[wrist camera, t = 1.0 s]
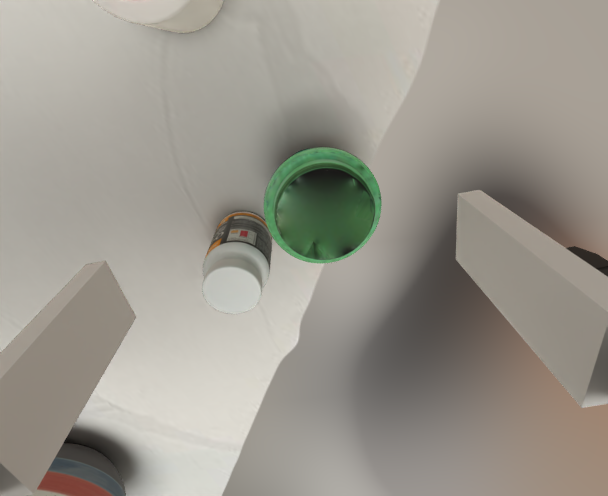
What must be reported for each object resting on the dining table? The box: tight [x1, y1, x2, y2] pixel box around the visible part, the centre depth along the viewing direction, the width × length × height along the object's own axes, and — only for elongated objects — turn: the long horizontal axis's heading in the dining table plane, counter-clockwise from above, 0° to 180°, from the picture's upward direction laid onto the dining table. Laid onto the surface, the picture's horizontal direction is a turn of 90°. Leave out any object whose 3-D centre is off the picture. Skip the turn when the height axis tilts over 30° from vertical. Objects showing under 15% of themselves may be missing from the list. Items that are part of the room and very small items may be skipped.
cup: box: [264, 147, 381, 263], centre depth 28 cm, size 8×8×12 cm
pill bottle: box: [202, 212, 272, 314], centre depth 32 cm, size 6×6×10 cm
